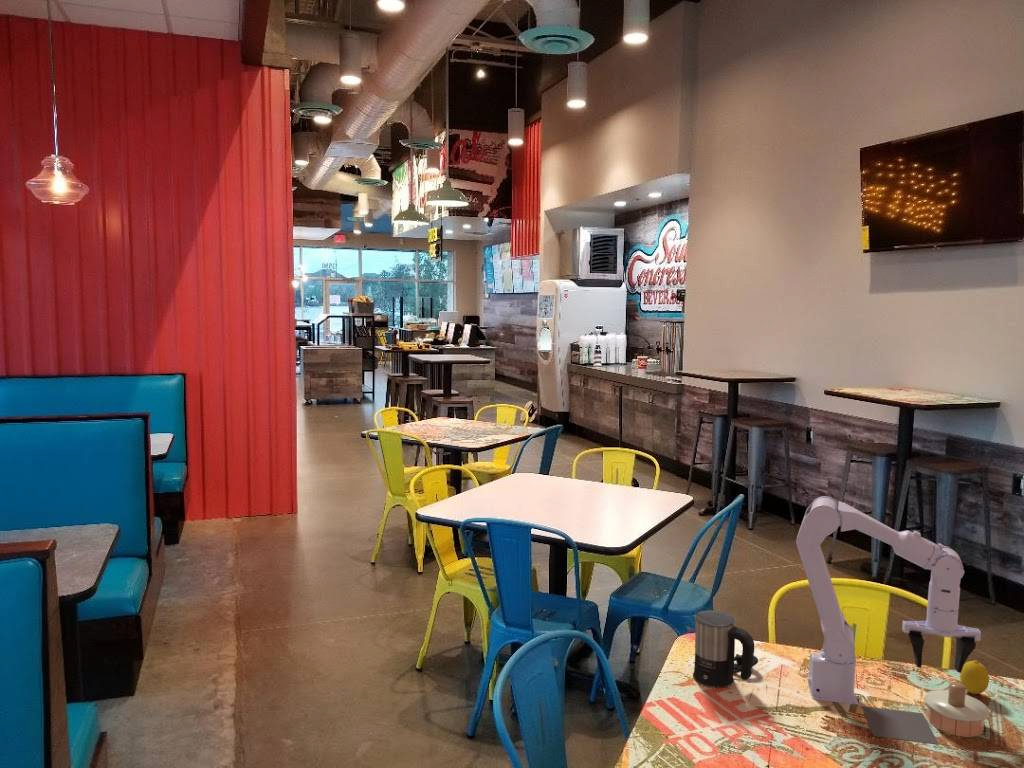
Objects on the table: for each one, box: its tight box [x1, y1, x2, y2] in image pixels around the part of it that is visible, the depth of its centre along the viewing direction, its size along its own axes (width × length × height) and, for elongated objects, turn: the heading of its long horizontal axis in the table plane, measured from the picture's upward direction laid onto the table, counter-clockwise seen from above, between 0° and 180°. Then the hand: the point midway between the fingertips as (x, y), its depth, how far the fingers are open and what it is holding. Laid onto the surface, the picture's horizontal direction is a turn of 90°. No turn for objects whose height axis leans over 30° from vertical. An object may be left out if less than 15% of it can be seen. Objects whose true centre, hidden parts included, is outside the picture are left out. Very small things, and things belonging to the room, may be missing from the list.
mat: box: [861, 705, 940, 745], centre depth 161 cm, size 12×12×1 cm
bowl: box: [926, 705, 985, 738], centre depth 162 cm, size 10×10×4 cm
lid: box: [923, 681, 990, 722], centre depth 161 cm, size 12×12×5 cm
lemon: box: [959, 659, 990, 695], centre depth 174 cm, size 6×6×8 cm
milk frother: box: [692, 609, 759, 688], centre depth 182 cm, size 14×16×15 cm
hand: (937, 668), depth 165 cm, fingers open, 7 cm apart
